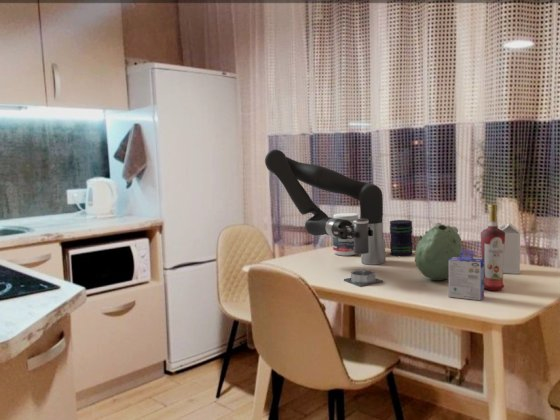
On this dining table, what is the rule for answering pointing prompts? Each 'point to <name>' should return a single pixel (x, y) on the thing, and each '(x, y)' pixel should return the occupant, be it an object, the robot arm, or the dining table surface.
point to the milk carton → (511, 249)
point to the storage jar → (401, 238)
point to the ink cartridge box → (466, 277)
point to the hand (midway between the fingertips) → (365, 234)
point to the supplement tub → (344, 245)
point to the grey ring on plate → (363, 278)
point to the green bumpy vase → (437, 251)
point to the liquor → (493, 252)
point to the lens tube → (361, 236)
